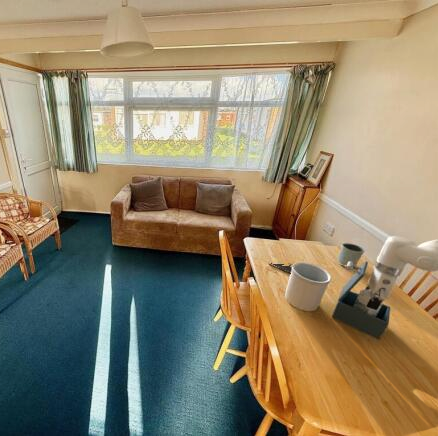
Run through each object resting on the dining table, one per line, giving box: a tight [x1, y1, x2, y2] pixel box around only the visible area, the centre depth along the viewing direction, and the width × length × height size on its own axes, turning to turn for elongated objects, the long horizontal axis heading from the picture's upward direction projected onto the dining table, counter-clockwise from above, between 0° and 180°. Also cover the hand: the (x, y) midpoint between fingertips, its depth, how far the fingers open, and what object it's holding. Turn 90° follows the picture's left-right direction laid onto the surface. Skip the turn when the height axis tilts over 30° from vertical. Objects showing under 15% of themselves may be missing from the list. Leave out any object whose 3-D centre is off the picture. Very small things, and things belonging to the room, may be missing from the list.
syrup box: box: [353, 288, 386, 317], centre depth 96 cm, size 6×6×14 cm
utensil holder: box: [284, 261, 332, 312], centre depth 107 cm, size 15×15×18 cm
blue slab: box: [337, 261, 369, 302], centre depth 99 cm, size 16×13×6 cm
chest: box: [331, 290, 391, 340], centre depth 98 cm, size 16×13×9 cm
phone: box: [271, 263, 293, 274], centre depth 135 cm, size 8×1×15 cm
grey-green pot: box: [337, 242, 365, 267], centre depth 135 cm, size 10×10×12 cm
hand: (369, 301), depth 95 cm, fingers closed on syrup box, 8 cm apart
